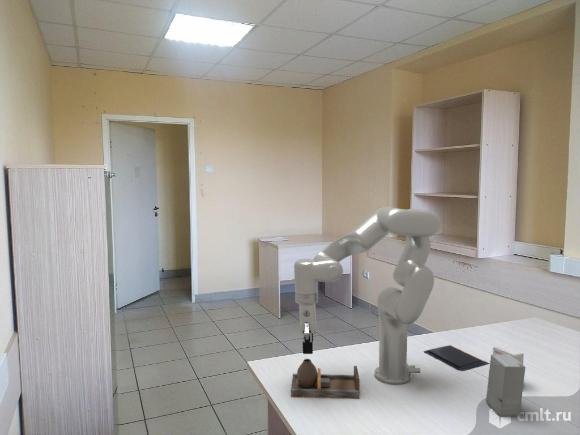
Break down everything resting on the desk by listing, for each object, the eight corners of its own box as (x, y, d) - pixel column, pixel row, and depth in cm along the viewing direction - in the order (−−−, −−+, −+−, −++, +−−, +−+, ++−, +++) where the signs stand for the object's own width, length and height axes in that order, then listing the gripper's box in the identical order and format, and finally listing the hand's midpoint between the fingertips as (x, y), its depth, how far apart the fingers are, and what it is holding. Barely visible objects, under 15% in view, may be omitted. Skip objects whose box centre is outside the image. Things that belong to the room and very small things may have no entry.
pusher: (329, 379, 149) (329, 368, 148) (330, 391, 140) (330, 380, 140) (317, 378, 149) (317, 368, 149) (317, 391, 140) (317, 380, 140)
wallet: (422, 348, 174) (451, 342, 180) (422, 352, 174) (451, 346, 180) (459, 368, 156) (490, 361, 162) (459, 373, 156) (490, 366, 162)
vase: (316, 391, 141) (315, 365, 140) (295, 389, 142) (294, 363, 141) (319, 381, 148) (318, 356, 147) (299, 379, 149) (298, 355, 148)
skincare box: (485, 402, 135) (487, 353, 134) (507, 401, 136) (509, 352, 134) (500, 417, 127) (502, 365, 125) (523, 416, 127) (526, 364, 126)
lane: (356, 380, 150) (356, 364, 149) (359, 398, 138) (359, 380, 137) (292, 379, 151) (292, 362, 151) (290, 397, 139) (290, 379, 139)
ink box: (523, 386, 145) (525, 352, 144) (513, 390, 143) (515, 355, 141) (500, 376, 153) (502, 343, 151) (491, 379, 150) (492, 346, 149)
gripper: (318, 305, 133) (319, 358, 135) (318, 289, 150) (319, 337, 152) (293, 305, 134) (295, 358, 135) (296, 290, 151) (298, 337, 153)
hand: (308, 347), depth 144 cm, fingers open, 9 cm apart
